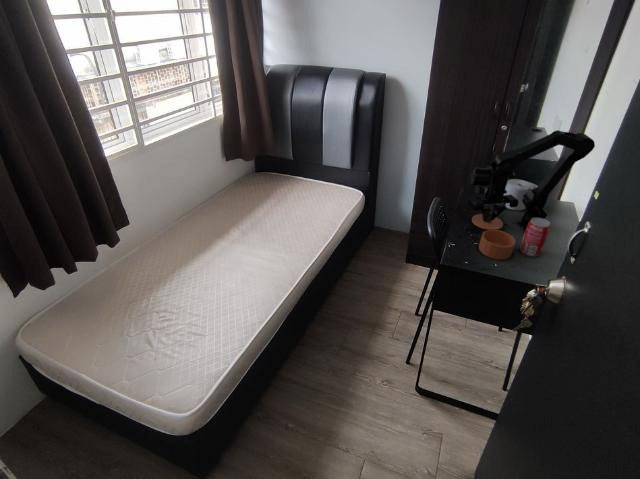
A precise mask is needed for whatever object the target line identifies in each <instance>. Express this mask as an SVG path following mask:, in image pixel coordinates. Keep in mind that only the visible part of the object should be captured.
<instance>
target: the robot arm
mask: <svg viewBox="0 0 640 479" xmlns="http://www.w3.org/2000/svg"><path fill="white" fill-rule="evenodd" d="M558 146H563V147H564V151H563V154H562V156H561V157H560V158H559V159H558V161H557V162H556V163H555V165H553V167H552V169H550V170H549V172H548V173H547V174H546V175H545V177H544V178H543V180H542V181H540V183H539V184H538V185H537V186H538V187H537V188H535V189H533V190H532V189H531V188H529V189H528V191H527V192H526V194H524V195H523V199H522V202H523V204H524V206H525V208H526V209H525V210H526V211H524V214H523V216H522V218H521V220H520V221H518V223H517V224H518V226H520V227H522V228H523V230H525V231H526V228H527V225H528V223H529V222H530V221H531V219H532V218H543V219H545V220H546V218H547V216H548V214H547V212H546V210H545V209H544V208H545V206H546V205H547V202H548V198H549V196H550V193H551V192H552V191H553V190H554V189H555V188H556V186H557V185H558V184H559V183H560V181H561V180H562V179H563V178H564V177H565V176H566V175H567V173H568V172H569V171H570V169H572V167H573V166H574V165H575V163H577V162H579V161H580V160H582V159H585V158H586V157H587V156H588V155H589V154H591V152H592V151H593V150H594V149H595V146H596V144H595V141H594V139H592V137H590V136H588V135H587V134H586V133H584V132H577V133H575V132H571V131H562V130H557V129H556V130H554V131H553V132H551V133H549V134H546V135H545V136H543V137H541V138H539V139H536V140H535V141H532V142H530V143H528V144H526V145H523V146H522V147H519V148H517V149H509V150H506V151H503V152H500V153H498V154H497V155H496V157H495V159H494V160H492V161H491V162H490V163H489V164H488V165H486V166H487V167H479V166H475V167H474V169H473V170H472V172H471V173H470V177H469V178H470V179H469V181H470V182H469V183H470V185H471V186H475V189H474V192H475V194H478V197H477V196H476V197H470V198H468V200H467V205H468V206H469V207H470V208H471V209H472V210H474V211H481V214H482V218H483V221H484V222H485V221H486V219H487V217H488V215H489V213H490V212H492V213H493V216H492V219H491V221H493V220H494V219H495V218H496V217H497V218H498V216H499V215H500V214H502V213H503V212H504V211H505V210H508V208H507V207H506V203H510V204H509V206H510V207H517V206H518V203H519V202H518V200H517V199H516V198H515V197H514V196H512V195H504V194H506V193H507V191H506V190H505V189H506V185H507V182H508V180H510V178H516V175H515V173H514V171H513V170H515V169H517V168H519V166H521V164H522V163H524V162H525V161H527V160H528V159H531V158H533V157H536V156H537V155H540V154H542V153H544V152H546V151H548V150H551V149H553V148H555V147H558ZM496 167H497V168H496ZM479 196H482V198H484V199H481V198H480V197H479ZM490 206H493V208H492V210H491V208H490Z"/></svg>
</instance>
